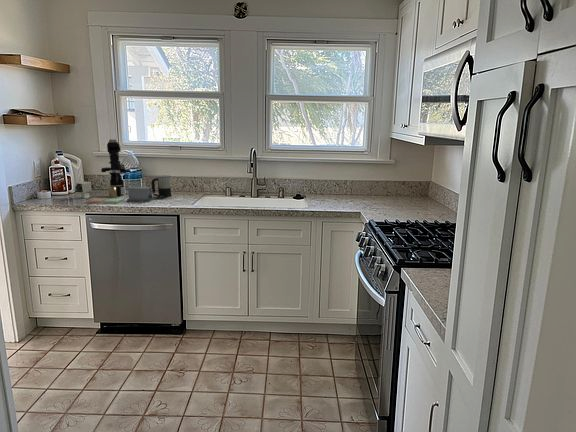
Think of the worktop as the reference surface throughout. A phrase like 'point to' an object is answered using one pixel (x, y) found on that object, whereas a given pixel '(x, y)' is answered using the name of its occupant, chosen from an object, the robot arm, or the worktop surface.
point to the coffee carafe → (162, 186)
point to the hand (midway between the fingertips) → (116, 182)
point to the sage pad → (114, 200)
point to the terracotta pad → (96, 200)
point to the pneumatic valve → (84, 188)
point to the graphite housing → (140, 194)
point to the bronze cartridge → (112, 192)
